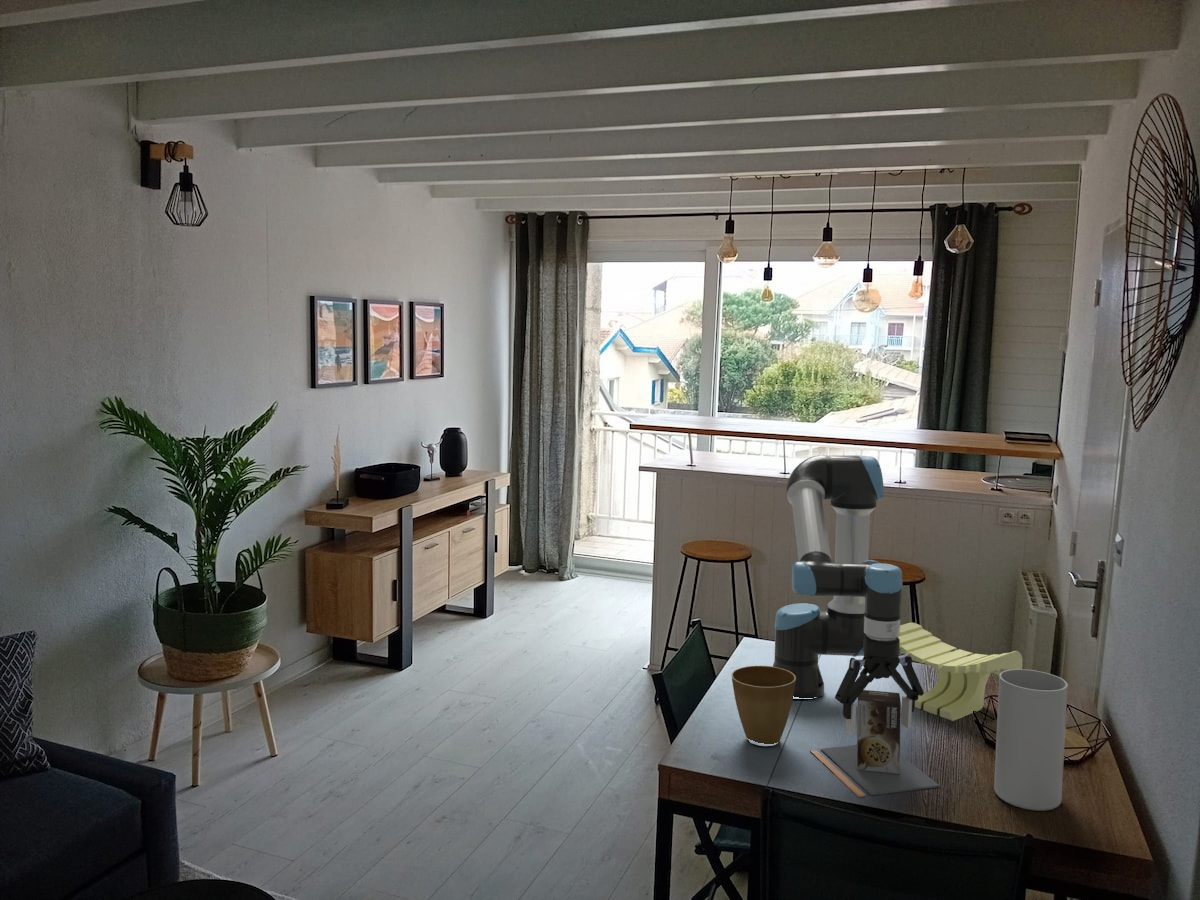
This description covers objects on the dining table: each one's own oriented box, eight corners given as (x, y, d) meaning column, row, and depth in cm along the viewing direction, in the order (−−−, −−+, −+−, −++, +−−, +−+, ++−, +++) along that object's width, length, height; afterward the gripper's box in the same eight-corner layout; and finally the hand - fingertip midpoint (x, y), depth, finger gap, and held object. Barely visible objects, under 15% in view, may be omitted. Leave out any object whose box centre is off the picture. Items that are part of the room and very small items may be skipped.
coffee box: (898, 762, 198) (900, 692, 196) (899, 775, 192) (902, 703, 190) (855, 757, 200) (857, 688, 199) (855, 769, 194) (857, 698, 193)
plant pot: (794, 730, 216) (795, 666, 214) (794, 757, 201) (796, 689, 200) (732, 725, 219) (733, 662, 217) (728, 751, 204) (729, 684, 203)
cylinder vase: (1006, 777, 192) (1012, 664, 189) (1069, 796, 183) (1075, 679, 181) (984, 797, 183) (989, 680, 180) (1049, 819, 174) (1056, 696, 172)
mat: (820, 750, 205) (820, 748, 205) (883, 743, 208) (883, 741, 208) (870, 795, 184) (870, 793, 183) (939, 787, 187) (939, 785, 187)
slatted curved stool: (1019, 717, 224) (1023, 648, 222) (984, 732, 215) (987, 661, 213) (916, 682, 248) (918, 620, 247) (880, 694, 239) (882, 630, 237)
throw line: (809, 751, 204) (809, 750, 204) (815, 750, 205) (815, 749, 204) (858, 797, 183) (858, 795, 183) (865, 796, 183) (865, 794, 183)
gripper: (837, 645, 187) (835, 742, 189) (942, 636, 192) (938, 730, 195) (821, 634, 194) (818, 727, 196) (922, 626, 199) (918, 716, 202)
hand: (878, 729), depth 195 cm, fingers open, 13 cm apart
